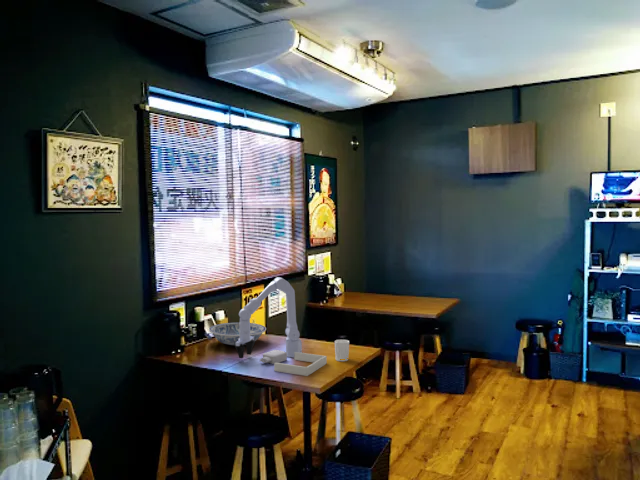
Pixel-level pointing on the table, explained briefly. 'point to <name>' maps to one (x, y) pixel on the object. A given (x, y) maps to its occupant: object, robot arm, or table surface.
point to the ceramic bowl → (234, 332)
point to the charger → (274, 357)
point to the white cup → (341, 349)
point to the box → (301, 370)
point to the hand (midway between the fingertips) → (245, 356)
